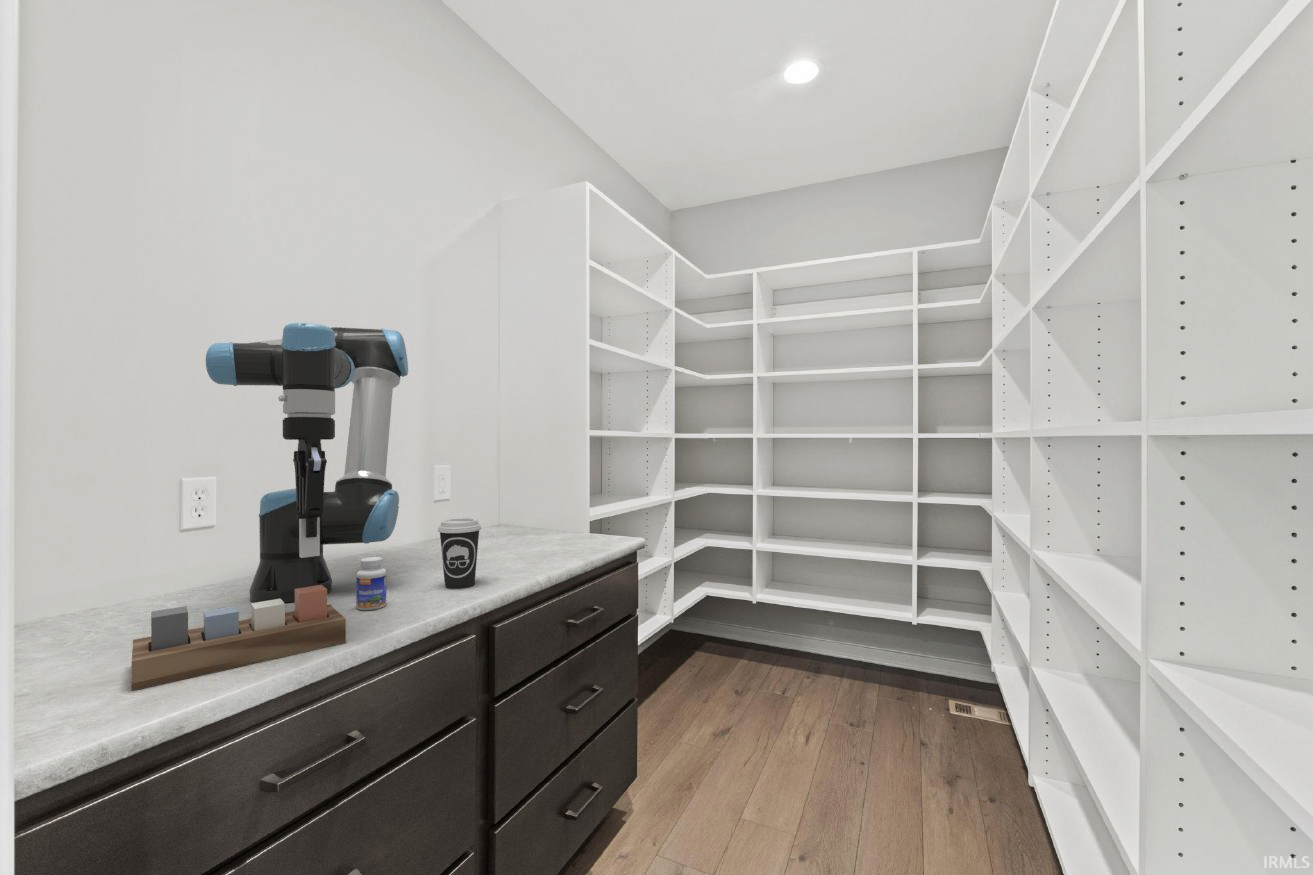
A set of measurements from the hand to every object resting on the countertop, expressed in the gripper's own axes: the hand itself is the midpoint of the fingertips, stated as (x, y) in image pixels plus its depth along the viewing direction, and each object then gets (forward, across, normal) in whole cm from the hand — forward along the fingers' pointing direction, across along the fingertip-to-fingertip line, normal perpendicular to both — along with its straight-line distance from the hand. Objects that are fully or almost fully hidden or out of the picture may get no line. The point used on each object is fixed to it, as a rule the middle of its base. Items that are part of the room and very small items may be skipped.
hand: (309, 555), depth 94 cm
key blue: (+12, 0, -12) cm, 17 cm away
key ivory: (+12, 0, -6) cm, 13 cm away
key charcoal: (+11, 0, -18) cm, 21 cm away
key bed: (+14, 0, -9) cm, 17 cm away
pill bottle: (+14, -13, +13) cm, 23 cm away
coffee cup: (+14, -17, +33) cm, 40 cm away
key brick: (+11, 0, 0) cm, 11 cm away
